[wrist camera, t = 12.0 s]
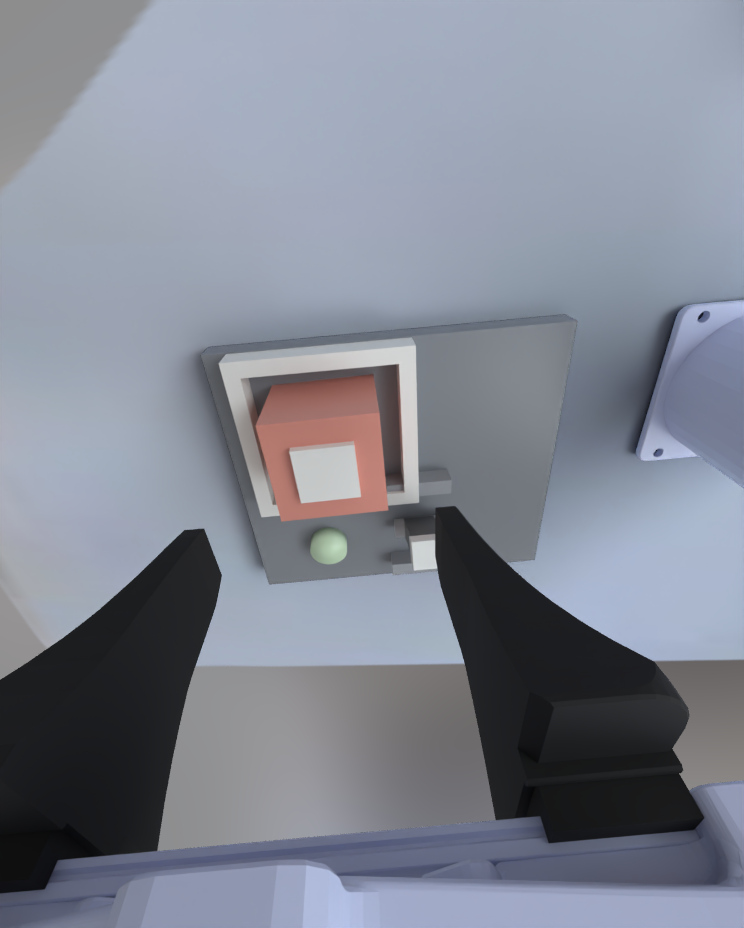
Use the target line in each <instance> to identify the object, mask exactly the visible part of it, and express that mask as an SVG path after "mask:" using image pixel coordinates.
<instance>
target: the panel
mask: <svg viewBox="0 0 744 928" xmlns="http://www.w3.org/2000/svg"><path fill="white" fill-rule="evenodd" d="M576 327H577V320H575V319H573V318H571V317H569V316H567V315H555V316H544V317H533V318H522V319H511V320H500V321H489V322H478V323H467V324H456V325H445V326H434V327H423V328H412V329H401V330H390V331H379V332H368V333H357V334H346V335H336V336H325V337H314V338H303V339H292V340H281V341H270V342H259V343H248V344H237V345H226V346H215V347H208V348H207V349H206V350H205V351H204V352H203V354H202V355H201V358H202V361H203V365H204V368H205V371H206V375H207V378H208V381H209V385H210V388H211V391H212V395H213V398H214V401H215V405H216V408H217V411H218V415H219V418H220V421H221V425H222V428H223V431H224V435H225V438H226V441H227V445H228V448H229V452H230V455H231V458H232V462H233V465H234V468H235V472H236V475H237V478H238V482H239V485H240V488H241V492H242V495H243V498H244V502H245V505H246V508H247V512H248V515H249V518H250V522H251V525H252V528H253V532H254V535H255V538H256V542H257V545H258V549H259V552H260V555H261V559H262V562H263V565H264V569H265V572H266V575H267V579H268V582H269V585H270V584H281V583H291V582H302V581H313V580H324V579H334V578H345V577H356V576H366V575H377V574H388V573H393V575H400V574H410V573H421V572H432V571H438V569H427V570H416V571H414V569H413V566H412V563H411V553H410V549H409V547H408V544H407V541H406V538H405V537H400V538H396V536H395V528H394V519H401V518H411V517H422V516H433V515H435V508H437V507H448V506H456V507H457V508H458V509H459V510H460V512H461V513H462V514H463V515H464V517H465V518H466V519H467V520H468V522H469V523H470V524H471V525H472V527H473V528H474V529H475V530H476V531H477V532H478V534H479V535H480V536H481V537H482V538H483V539H484V540H485V541H486V542H487V544H488V545H489V546H490V547H491V548H492V549H493V550H494V551H495V552H496V553H497V554H498V555H499V556H500V557H501V558H502V559H503V560H504V561H505V562H517V561H527V560H535V554H536V549H537V543H538V538H539V532H540V527H541V521H542V516H543V510H544V504H545V499H546V493H547V488H548V482H549V477H550V471H551V466H552V460H553V454H554V449H555V443H556V438H557V432H558V427H559V421H560V416H561V410H562V404H563V399H564V393H565V388H566V382H567V377H568V371H569V366H570V360H571V355H572V349H573V343H574V338H575V332H576ZM371 374H373V375H374V382H375V388H376V394H377V401H378V407H379V414H380V425H381V436H382V447H383V458H384V468H385V479H386V490H387V501H388V510H386V511H377V512H367V513H358V514H349V515H339V516H330V517H320V518H311V519H301V520H292V521H283V522H281V518H280V514H279V511H278V507H277V503H276V500H275V496H274V492H273V489H272V485H271V481H270V477H269V474H268V470H267V466H266V463H265V459H264V455H263V452H262V448H261V444H260V440H259V437H258V433H257V429H256V424H257V421H258V419H259V416H260V414H261V411H262V409H263V406H264V404H265V402H266V399H267V397H268V394H269V392H270V389H271V387H272V385H278V384H287V383H296V382H306V381H315V380H324V379H333V378H343V377H352V376H361V375H371Z"/></svg>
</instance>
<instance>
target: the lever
mask: <svg viewBox="0 0 744 928" xmlns="http://www.w3.org/2000/svg"><path fill="white" fill-rule="evenodd" d="M394 528H395V536H396V538H400V537H405V538H406V541H407V544H408V547H409V549H410V553H411V563H412V566H413V569H414V571H416V570H427V569H437V563H436V558H435V515H433V516H422V517H411V518H401V519H394Z"/></svg>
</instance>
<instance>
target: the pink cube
mask: <svg viewBox="0 0 744 928" xmlns="http://www.w3.org/2000/svg"><path fill="white" fill-rule="evenodd" d="M256 429H257V433H258V437H259V440H260V444H261V448H262V452H263V455H264V459H265V463H266V466H267V470H268V474H269V477H270V481H271V485H272V489H273V492H274V496H275V500H276V503H277V507H278V511H279V514H280V518H281V522H283V521H292V520H301V519H311V518H320V517H330V516H339V515H349V514H358V513H367V512H377V511H386V510H388V501H387V490H386V479H385V468H384V458H383V447H382V436H381V425H380V414H379V407H378V401H377V394H376V388H375V382H374V375H373V374H371V375H361V376H352V377H343V378H333V379H324V380H315V381H306V382H296V383H287V384H278V385H272V387H271V389H270V392H269V394H268V397H267V399H266V402H265V404H264V406H263V409H262V411H261V414H260V416H259V419H258V421H257V424H256Z"/></svg>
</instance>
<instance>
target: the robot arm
mask: <svg viewBox="0 0 744 928" xmlns="http://www.w3.org/2000/svg"><path fill="white" fill-rule="evenodd" d="M703 311H704V314H703V316H702V318H700V319H699V320H698V316H699V315H700V314H701V313H702V312H703ZM657 449H658V451H656V452H655V450H657ZM654 452H655V453H654ZM636 456H637V457H638V458H639V459H640V460H642V461H653V460H664V459H675V458H685V457H696V456H699V457H701V458H702V459H703V460H705V461H706V462H708V463H709V464H710V465H712V466H713V467H715V468H716V469H717V470H719V471H720V472H722V473H723V474H724V475H726V476H727V477H729V478H730V479H731V480H733V481H734V482H736V483H737V484H738V485H740V486H741V487H742V488H744V300H735V301H724V302H713V303H702V304H691V305H688V306H685V307H684V308H682V309H681V310H680V311H679V313H678V315H677V317H676V320H675V323H674V326H673V329H672V333H671V336H670V339H669V343H668V346H667V349H666V353H665V356H664V359H663V363H662V366H661V369H660V373H659V376H658V379H657V383H656V386H655V389H654V393H653V396H652V399H651V403H650V406H649V409H648V413H647V416H646V419H645V423H644V426H643V429H642V433H641V436H640V439H639V443H638V446H637V449H636ZM435 558H436V563H437V569H438V574H439V579H440V584H441V588H442V591H443V594H444V598H445V601H446V604H447V607H448V610H449V613H450V617H451V620H452V623H453V626H454V629H455V632H456V636H457V639H458V642H459V645H460V648H461V651H462V655H463V659H464V662H465V666H466V671H467V676H468V680H469V685H470V690H471V694H472V699H473V704H474V708H475V713H476V718H477V723H478V728H479V733H480V737H481V743H482V748H483V754H484V758H485V764H486V769H487V774H488V779H489V785H490V791H491V796H492V802H493V807H494V813H495V818H496V820H493V821H482V822H471V823H461V824H449V825H440V826H428V827H416V828H405V829H395V830H384V831H372V832H361V833H351V834H340V835H330V836H319V837H307V838H296V839H286V840H274V841H263V842H252V843H241V844H230V845H220V846H208V847H197V848H186V849H176V850H164V851H157V848H158V842H159V835H160V828H161V822H162V816H163V809H164V802H165V797H166V791H167V786H168V780H169V775H170V769H171V764H172V758H173V753H174V749H175V744H176V739H177V735H178V730H179V725H180V721H181V716H182V712H183V708H184V704H185V699H186V695H187V691H188V687H189V684H190V681H191V677H192V674H193V671H194V668H195V666H196V663H197V660H198V657H199V654H200V651H201V648H202V645H203V642H204V639H205V637H206V634H207V631H208V628H209V625H210V622H211V619H212V616H213V613H214V610H215V607H216V602H217V598H218V593H219V588H220V582H221V576H222V575H221V572H220V569H219V567H218V564H217V562H216V559H215V556H214V554H213V551H212V548H211V546H210V543H209V541H208V538H207V535H206V533H205V530H204V529H194V530H184V531H183V532H182V533H181V534H180V535H179V536H178V537H177V538H176V539H175V540H174V541H173V542H172V543H170V544H169V545H168V546H167V547H166V548H165V549H164V550H163V551H162V552H161V553H160V554H159V555H158V556H157V557H156V558H155V559H154V560H153V561H152V562H151V563H150V564H149V565H148V566H147V567H146V568H145V569H144V570H143V571H142V572H141V573H140V574H139V575H138V576H137V577H136V578H134V579H133V580H132V581H131V582H130V583H129V584H128V585H127V586H126V587H125V588H123V589H122V590H121V591H120V592H119V593H118V594H117V595H116V596H114V597H113V598H112V599H111V600H110V601H109V602H108V603H107V604H105V605H104V606H103V607H102V608H101V609H100V610H98V611H97V612H96V613H95V614H93V615H92V616H91V617H90V618H89V619H87V620H86V621H85V622H83V623H82V624H81V625H80V626H78V627H77V628H76V629H74V630H73V631H72V632H70V633H69V634H68V635H66V636H65V637H64V638H62V639H61V640H59V641H58V642H57V643H55V644H54V645H52V646H51V647H49V648H48V649H46V650H45V651H43V652H42V653H41V654H39V655H38V656H36V657H35V658H33V659H32V660H31V661H29V662H28V663H26V664H24V665H23V666H21V667H20V668H18V669H17V670H15V671H14V672H12V673H10V674H9V675H7V676H6V677H4V678H2V679H1V680H0V928H744V781H734V782H722V783H712V784H705V785H700V786H697V787H695V788H692V789H691V790H690V791H689V790H688V788H687V787H686V785H685V783H684V781H683V780H682V778H681V776H680V775H679V773H681V772H682V771H683V768H682V764H681V763H680V761H679V759H678V758H677V756H676V755H675V753H674V751H673V749H672V748H673V746H674V744H675V743H676V741H677V740H678V738H679V737H680V735H681V734H682V732H683V731H684V729H685V727H686V724H687V722H688V719H689V711H688V707H687V706H686V704H685V703H684V701H683V700H682V698H681V697H680V695H679V694H678V692H677V691H676V689H675V688H674V686H673V685H672V684H671V682H670V681H669V679H668V678H667V677H666V676H665V675H664V673H663V672H662V671H661V670H660V669H659V667H658V666H657V665H656V663H655V662H654V661H652V660H650V659H648V658H646V657H644V656H642V655H640V654H638V653H636V652H634V651H632V650H631V649H629V648H627V647H625V646H623V645H621V644H619V643H617V642H615V641H613V640H612V639H610V638H608V637H606V636H605V635H603V634H601V633H600V632H598V631H596V630H595V629H593V628H591V627H589V626H588V625H586V624H585V623H583V622H581V621H580V620H578V619H577V618H575V617H574V616H572V615H571V614H570V613H568V612H567V611H565V610H564V609H562V608H561V607H559V606H558V605H556V604H555V603H553V602H552V601H551V600H549V599H548V598H547V597H545V596H544V595H543V594H542V593H540V592H539V591H538V590H537V589H535V588H534V587H533V586H532V585H530V584H529V583H528V582H527V581H526V580H525V579H523V578H522V577H521V576H520V575H519V574H518V573H517V572H515V571H514V570H513V569H512V568H511V567H510V566H509V565H508V564H507V563H506V562H505V561H504V560H503V559H502V558H501V557H500V556H499V555H498V554H497V553H496V552H495V551H494V550H493V549H492V548H491V547H490V546H489V545H488V544H487V542H486V541H485V540H484V539H483V538H482V537H481V536H480V535H479V534H478V532H477V531H476V530H475V529H474V528H473V527H472V525H471V524H470V523H469V522H468V520H467V519H466V518H465V517H464V515H463V514H462V513H461V512H460V510H459V509H458V508H457V507H456V506H448V507H437V508H435Z"/></svg>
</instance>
